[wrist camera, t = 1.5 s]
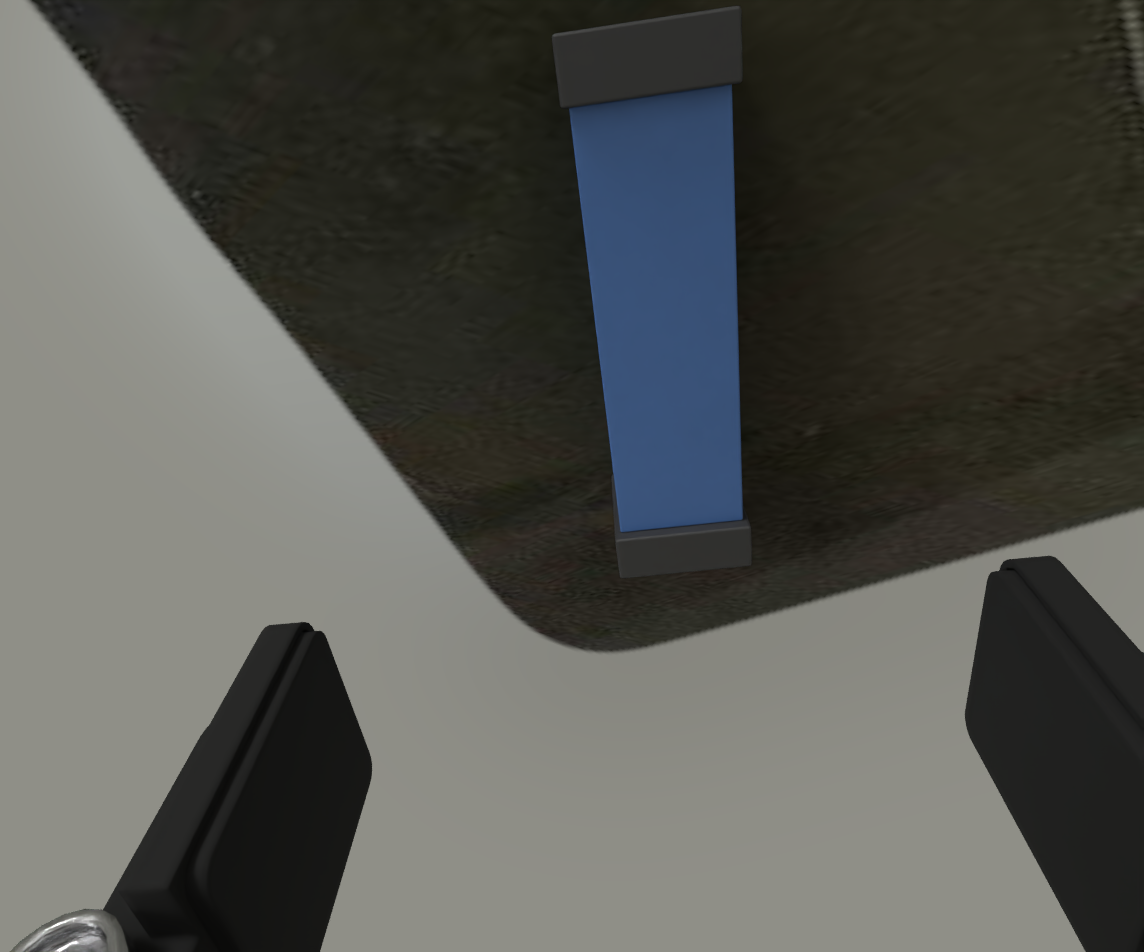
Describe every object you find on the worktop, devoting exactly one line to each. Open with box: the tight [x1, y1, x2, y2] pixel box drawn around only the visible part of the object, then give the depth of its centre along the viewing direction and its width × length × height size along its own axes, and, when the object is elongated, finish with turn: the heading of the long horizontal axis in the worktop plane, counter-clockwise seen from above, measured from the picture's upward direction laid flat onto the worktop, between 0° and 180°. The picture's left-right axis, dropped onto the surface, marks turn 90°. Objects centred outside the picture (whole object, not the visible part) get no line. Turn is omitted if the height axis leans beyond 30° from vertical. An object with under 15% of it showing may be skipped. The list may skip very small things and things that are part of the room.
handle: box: [552, 6, 752, 578], centre depth 24 cm, size 16×4×4 cm, turn 8°
